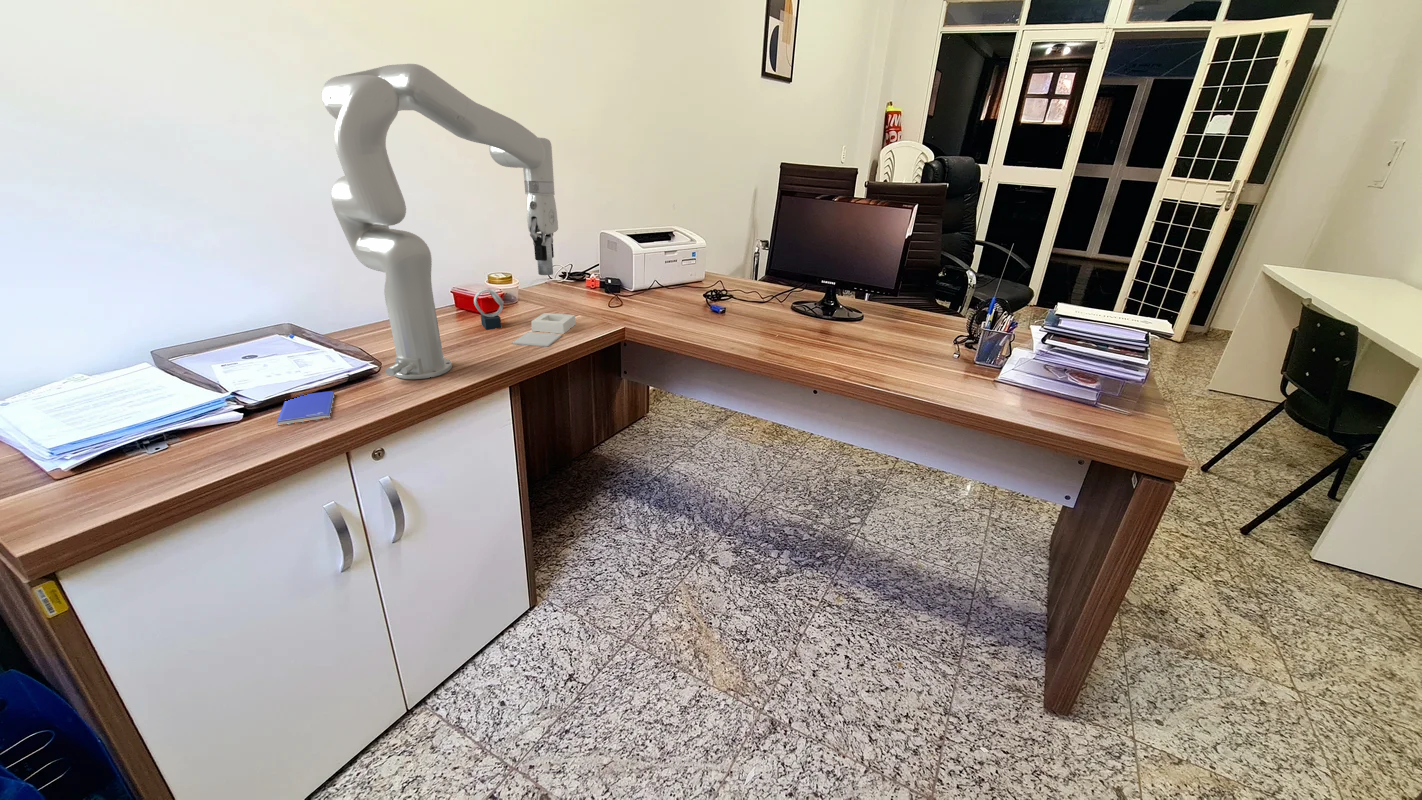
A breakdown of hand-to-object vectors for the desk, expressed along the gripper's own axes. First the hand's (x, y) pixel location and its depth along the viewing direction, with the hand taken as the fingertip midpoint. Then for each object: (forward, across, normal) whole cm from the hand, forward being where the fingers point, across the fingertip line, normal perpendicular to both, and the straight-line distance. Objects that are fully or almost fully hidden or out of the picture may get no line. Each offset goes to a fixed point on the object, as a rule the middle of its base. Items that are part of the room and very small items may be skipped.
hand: (544, 258), depth 154 cm
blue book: (+22, -61, +25) cm, 70 cm away
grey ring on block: (+21, 0, +18) cm, 28 cm away
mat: (+21, -9, 0) cm, 23 cm away
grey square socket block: (+21, +3, 0) cm, 21 cm away
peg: (+4, 0, 0) cm, 4 cm away
